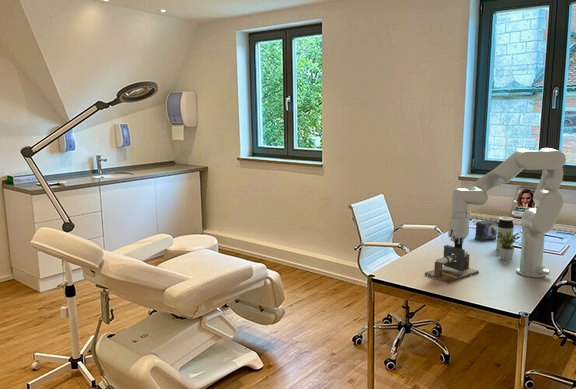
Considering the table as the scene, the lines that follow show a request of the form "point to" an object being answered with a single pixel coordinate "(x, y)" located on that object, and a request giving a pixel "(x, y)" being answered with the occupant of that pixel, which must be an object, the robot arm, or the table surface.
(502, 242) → the house plant
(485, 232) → the small box
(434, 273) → the pipe stand
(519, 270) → the robot arm
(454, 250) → the grey flat upright plate
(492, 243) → the table surface
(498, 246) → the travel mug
